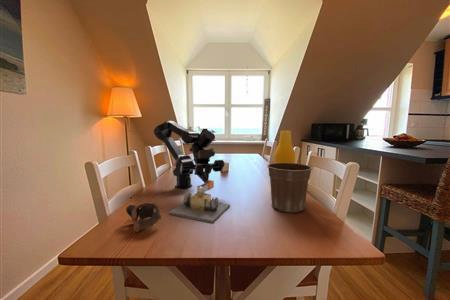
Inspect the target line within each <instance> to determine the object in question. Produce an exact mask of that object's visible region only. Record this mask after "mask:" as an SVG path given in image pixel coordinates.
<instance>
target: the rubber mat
mask: <svg viewBox="0 0 450 300" xmlns="http://www.w3.org/2000/svg"><path fill="white" fill-rule="evenodd" d="M230 207H231V204H228V203H223V202H219V203H218V208H217V210H216V211H212V210H206V211H205V212H202V211H197V210H191V207H190V206H185V205H184V203H182V204H180V205H178V206H176V207H175V208H173V209H171V210H169V212H168V214H169V215H172V216H176V217H182V218H187V219H191V220H192V219H193V220H197V221H203V222H208V223H211V224H213V223H215V222H216V220H218V219H219V217H221V216H222V215H223V214H224V213H225V212H226V211H227V210H228V209H229V208H230Z"/></svg>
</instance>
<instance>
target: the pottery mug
mask: <svg viewBox="0 0 450 300" xmlns="http://www.w3.org/2000/svg"><path fill="white" fill-rule="evenodd" d="M125 208H126V209H125V211H126V214H128V216H129V217H130V218H131V220H132V223H133V228H132V229H133V231H134V232H136V233H139V232H140V231H143V230H145V229H149V228H150V227H152V226H153V227H154V224H156V223H158V221H159V220H161V219H162V217H161V214H160V212H161V211H162V210H161V208H159V205H157V204H155V203H153V202H151V201H145V202H140V203H138V204H137V205H135V204H129V205H128V206H126V207H125ZM154 210H155V211H154ZM138 218H139V219H138Z"/></svg>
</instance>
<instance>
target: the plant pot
mask: <svg viewBox="0 0 450 300" xmlns="http://www.w3.org/2000/svg"><path fill="white" fill-rule="evenodd" d="M267 168H268V176H269V182H270V196H271V197H270V198H271V199H270V200H271V207H272V208H273V209H275V210H278V211H279V212H283V213H288V214H293V213H294V214H296V213H300V212H303V211H304V210H305V209H306V208H305V207H306V199H307V194H308V193H307V192H308V187H309V180H310V178H311V171H312V170H313V167H312V166H310V165H308V164H302V163H296V162H295V163H274V162H272V163H268V164H267Z"/></svg>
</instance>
